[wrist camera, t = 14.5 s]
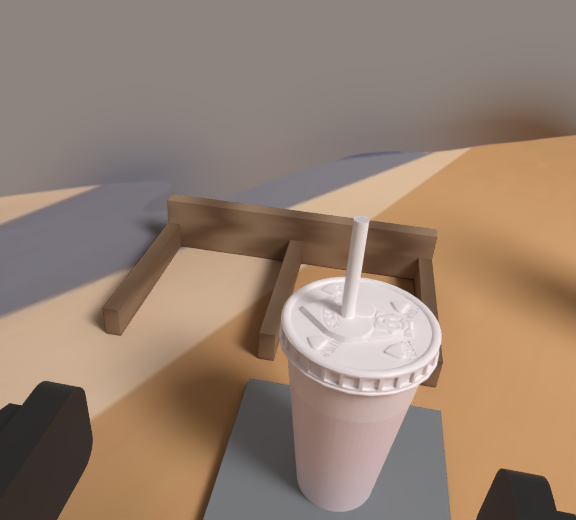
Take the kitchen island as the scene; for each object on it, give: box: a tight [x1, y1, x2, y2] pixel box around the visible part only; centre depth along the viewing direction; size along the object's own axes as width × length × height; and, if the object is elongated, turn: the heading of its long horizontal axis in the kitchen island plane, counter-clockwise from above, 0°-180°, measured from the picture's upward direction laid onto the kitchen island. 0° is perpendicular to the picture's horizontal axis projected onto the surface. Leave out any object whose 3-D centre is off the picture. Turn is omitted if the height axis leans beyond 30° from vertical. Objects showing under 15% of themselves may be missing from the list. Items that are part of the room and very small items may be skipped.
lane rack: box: [103, 194, 443, 387], centre depth 39 cm, size 21×13×4 cm, turn 80°
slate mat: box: [203, 379, 451, 520], centre depth 27 cm, size 11×11×1 cm
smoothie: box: [279, 216, 442, 512], centre depth 23 cm, size 6×6×14 cm
